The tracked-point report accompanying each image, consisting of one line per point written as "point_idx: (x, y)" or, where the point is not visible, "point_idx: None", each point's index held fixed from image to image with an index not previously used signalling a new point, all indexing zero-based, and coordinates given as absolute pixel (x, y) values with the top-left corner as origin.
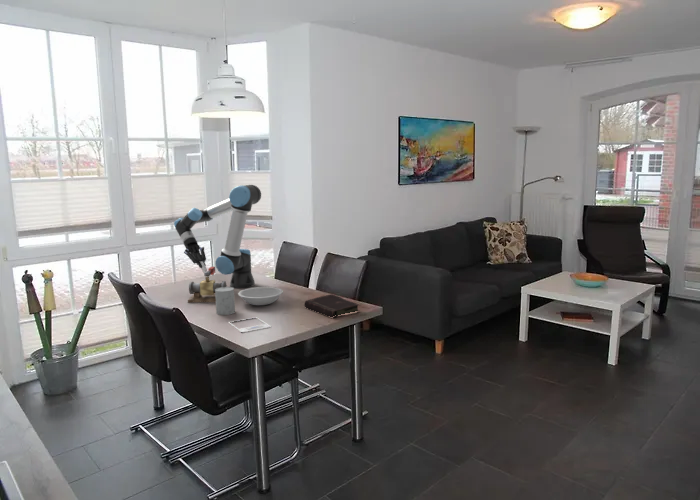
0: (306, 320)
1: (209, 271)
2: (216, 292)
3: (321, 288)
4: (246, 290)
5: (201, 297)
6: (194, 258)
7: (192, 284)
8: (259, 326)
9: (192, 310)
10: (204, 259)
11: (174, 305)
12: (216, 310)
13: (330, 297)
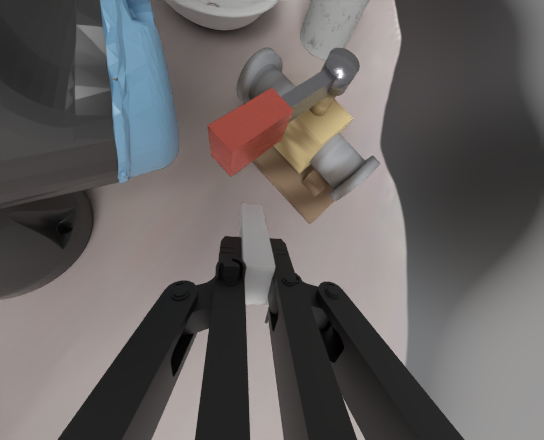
0: None
1: (313, 77)
2: None
3: None
4: (219, 8)
5: (310, 168)
6: (353, 326)
7: (364, 160)
8: None
9: (371, 114)
10: (196, 290)
11: (388, 190)
12: (345, 45)
13: None
